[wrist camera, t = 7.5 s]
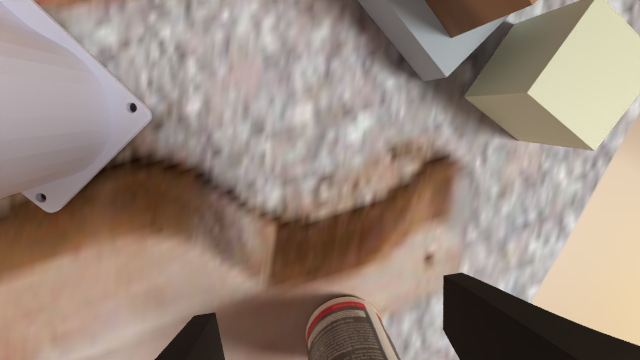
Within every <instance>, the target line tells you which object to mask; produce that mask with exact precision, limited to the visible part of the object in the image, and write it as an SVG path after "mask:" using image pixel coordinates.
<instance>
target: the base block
mask: <svg viewBox="0 0 640 360" xmlns="http://www.w3.org/2000/svg"><path fill="white" fill-rule="evenodd" d="M357 1H358V2H359V3H360V5H361V6H362V7H363V8H364V9H365V11H366V12H367V13H368V14H369V16H370V17H371V18H372V19H373V20H374V22H375V23H376V24H377V25H378V27H379V28H380V29H381V30H382V31H383V33H384V34H385V35H386V36H387V38H388V39H389V40H390V41H391V43H392V44H393V45H394V46H395V47H396V49H397V50H398V51H399V52H400V54H401V55H402V56H403V57H404V58H405V60H406V61H407V62H408V63H409V65H410V66H411V67H412V68H413V69H414V71H415V72H416V73H417V74H418V76H419V77H420V78H421V79H422V81H423V82H425V81H430V80H435V79H441V78H446V77H448V76H449V75H450V74H451V73H452V72H453V71H454V70H455V69H456V68H457V67H458V66H459V65H460V64H461V63H462V62H463V61H464V60H465V59H466V58H467V57H468V56H469V55H470V54H471V53H472V52H473V51H474V50H475V49H476V48H477V47H478V46H479V45H480V44H481V43H482V42H483V41H484V40H485V39H486V38H487V37H488V36H489V35H490V34H491V33H492V32H493V31H494V30H495V29H496V28H497V27H498V26H499V25H500V24H501V23H502V22H503V21H504V20H505V19H506V18H507V17H508V16H509V15H510V14H509V15H506V16H504V17H502V18H499V19H497V20H494V21H492V22H489V23H487V24H485V25H482V26H480V27H477V28H475V29H473V30H470V31H468V32H465V33H463V34H461V35H458V36H456V37H453V38H451V37H450V35H449V34H448V33H447V31H446V30H445V28H444V27H443V26H442V24H441V23H440V21H439V20H438V18H437V17H436V16H435V14H434V13H433V11H432V10H431V8H430V7H429V6H428V4H427V3H426V1H425V0H357Z"/></svg>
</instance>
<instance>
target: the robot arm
mask: <svg viewBox="0 0 640 360" xmlns="http://www.w3.org/2000/svg"><path fill="white" fill-rule="evenodd" d="M132 103H134V104H135V105H136V106H137V110H136V112H132V111H131V110H130V105H131V104H132ZM151 119H152V113H151V111H150V109H149V108H148V107H147V106H146V105H145V104H144V103H142V102H141V101H140V100H139V99H138V98H137V97H136V96H135V95H134V94H133V93H132V92H131V91H130V90H129V89H128V88H126V87H125V86H124V85H123V84H122V83H121V82H120V81H119V80H118V79H117V78H116V77H115V76H114V75H113V74H112V73H111V72H109V71H108V70H107V69H106V68H105V67H104V66H103V65H102V64H101V63H100V62H99V61H98V60H97V59H96V58H95V57H93V56H92V55H91V54H90V53H89V52H88V51H87V50H86V49H85V48H84V47H83V46H82V45H81V44H80V43H79V42H78V41H76V40H75V39H74V38H73V37H72V36H71V35H70V34H69V33H68V32H67V31H66V30H65V29H64V28H63V27H62V26H60V25H59V24H58V23H57V22H56V21H55V20H54V19H53V18H52V17H51V16H50V15H49V14H48V13H47V12H46V11H45V10H43V9H42V8H41V7H40V6H39V5H38V4H37V3H36V2H35V1H34V0H0V199H1V198H4V197H7V196H10V195H13V194H16V193H22V194H23V195H24V196H26V197H27V198H28V199H30V200H31V201H32V202H34V203H35V204H36V205H38V206H39V207H40V208H42V209H43V210H44V211H46V212H50V213H52V212H56V211H58V210H60V209H62V208H63V207H64V206H65V205H66V204H67V203H68V202H69V201H70V200H71V199H72V198H73V197H74V196H75V195H76V194H77V193H78V192H79V191H80V190H81V189H82V188H83V187H84V186H85V185H86V184H87V183H88V182H89V181H90V180H91V179H92V178H93V177H94V176H95V175H96V174H97V173H98V172H99V171H100V170H101V169H102V168H103V167H104V166H105V165H107V164H108V163H109V162H110V161H111V160H112V159H113V158H114V157H115V156H116V155H117V154H118V153H119V152H120V151H121V150H122V149H123V148H124V147H125V146H126V145H127V144H128V143H129V142H130V141H131V140H132V139H133V138H134V137H135V136H136V135H137V134H138V133H139V132H140V131H141V130H142V129H143V128H144V127H145V126H146V125H147V124H148V123H149V122H150V121H151ZM41 193H42V194H44V195H45V196H46V200H44V199H43V198H42V197H41ZM443 330H444V332H445V334H446V336H447V337H448V339H449V341H450V343H451V345H452V347H453V348H454V350H455V352H456V354H457V355H458V357H459V359H460V360H640V346H638V345H635V344H632V343H630V342H627V341H624V340H621V339H618V338H615V337H612V336H610V335H607V334H604V333H601V332H598V331H596V330H593V329H591V328H588V327H585V326H583V325H580V324H578V323H575V322H573V321H571V320H568V319H566V318H563V317H561V316H558V315H556V314H554V313H551V312H549V311H547V310H544V309H542V308H540V307H538V306H535V305H533V304H531V303H529V302H526V301H524V300H522V299H520V298H518V297H515V296H513V295H511V294H509V293H507V292H505V291H502V290H500V289H498V288H496V287H494V286H492V285H489V284H487V283H485V282H483V281H481V280H478V279H476V278H474V277H471V276H469V275H466V274H464V273H456V274H450V275H444V285H443ZM155 360H225V358H224V353H223V348H222V343H221V338H220V333H219V328H218V324H217V319H216V314H215V313H209V314H203V315H197V316H194V317H193V318H192V319H191V320H190V321H189V322H188V323H187V324H186V325H185V326H184V328H183V329H182V330H181V331H180V332H179V333H178V334H177V335H176V337H175V338H174V339H173V340H172V341H171V342H170V343H169V344H168V346H167V347H166V348H165V349H164V350H163V351H162V352H161V353H160V354H159V355H158V357H157V358H156V359H155Z"/></svg>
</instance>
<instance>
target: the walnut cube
mask: <svg viewBox="0 0 640 360" xmlns="http://www.w3.org/2000/svg"><path fill="white" fill-rule="evenodd" d="M425 1H426V3H427V4H428V6H429V7H430V8H431V10H432V11H433V13H434V14H435V16H436V17H437V18H438V20H439V21H440V23H441V24H442V26H443V27H444V28H445V30H446V31H447V33H448V34H449V35H450V37H451V38H453V37H456V36H458V35H461V34H463V33H465V32H468V31H470V30H473V29H475V28H477V27H480V26H482V25H485V24H487V23H489V22H492V21H494V20H497V19H499V18H502V17H504V16H506V15H509V14H511V13H514V12H516V11H518V10H521V9H523V8H526V7H528V6H530V5H533V4H534V3H535V2H536V1H537V0H425Z"/></svg>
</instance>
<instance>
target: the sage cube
mask: <svg viewBox="0 0 640 360" xmlns="http://www.w3.org/2000/svg"><path fill="white" fill-rule="evenodd" d="M639 93H640V36H639V35H638V34H637V33H636V32H635V31H634V30H633V29H632V28H631V27H630V26H629V25H628V24H627V23H626V22H625V21H624V19H623V18H622V17H621V16H620V15H619V14H618V13H617V12H616V11H615V10H614V9H613V8H612V7H611V6H610V5H609V4H608V3H607V1H606V0H580V1H577V2H574V3H572V4H569V5H566V6H563V7H561V8H558V9H555V10H552V11H550V12H547V13H544V14H541V15H538V16H536V17H533V18H530V19H527V20H525V21H522V22H519V23H516V24H514V25H513V27H512V28H511V29H510V31H509V32H508V34H507V35H506V37H505V38H504V39H503V41H502V42H501V44H500V45H499V47H498V48H497V50H496V51H495V52H494V54H493V55H492V57H491V58H490V60H489V61H488V62H487V64H486V65H485V67H484V68H483V70H482V71H481V73H480V74H479V75H478V77H477V78H476V80H475V81H474V83H473V84H472V85H471V87H470V88H469V90H468V91H467V93H466V94H465V96H464V98H465V99H467V100H468V101H469V102H470V103H472V104H473V105H474V106H475V107H477V108H478V109H479V110H480V111H482V112H483V113H484V114H485V115H487V116H488V117H489V118H491V119H492V120H493V121H494V122H496V123H497V124H498V125H499V126H501V127H502V128H503V129H504V130H506V131H507V132H508V133H509V134H511V135H512V136H513V137H514V138H516V139H517V140H518V141H524V142H532V143H540V144H547V145H555V146H562V147H570V148H577V149H585V150H592V151H595V150H596V149H597V147H598V146H599V145H600V143H601V142H602V141H603V140H604V138H605V137H606V136H607V134H608V133H609V132H610V131H611V129H612V128H613V127H614V125H615V124H616V123H617V122H618V120H619V119H620V118H621V116H622V115H623V114H624V113H625V111H626V110H627V109H628V107H629V106H630V105H631V104H632V102H633V101H634V100H635V98H636V97H637V96H638V95H639Z"/></svg>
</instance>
